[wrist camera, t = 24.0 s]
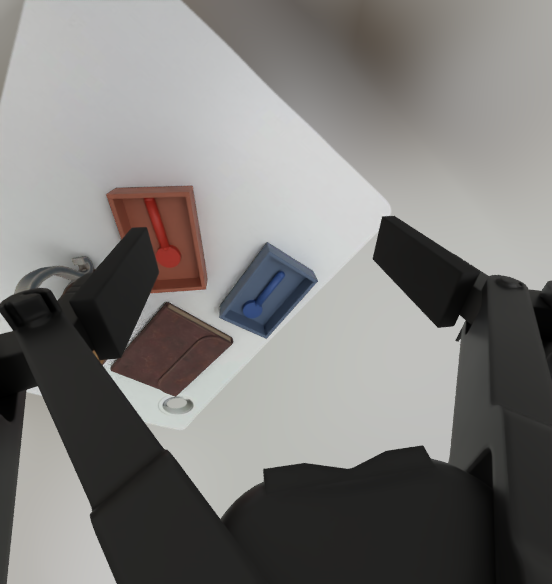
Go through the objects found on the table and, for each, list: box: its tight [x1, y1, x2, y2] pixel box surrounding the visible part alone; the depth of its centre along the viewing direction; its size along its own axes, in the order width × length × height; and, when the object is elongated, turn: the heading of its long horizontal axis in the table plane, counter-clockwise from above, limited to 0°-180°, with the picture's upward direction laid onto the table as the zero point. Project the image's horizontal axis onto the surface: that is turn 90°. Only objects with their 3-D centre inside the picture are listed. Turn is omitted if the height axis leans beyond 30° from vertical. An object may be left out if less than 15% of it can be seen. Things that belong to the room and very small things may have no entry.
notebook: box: [111, 302, 233, 397], centre depth 54 cm, size 15×20×2 cm
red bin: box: [106, 186, 208, 293], centre depth 40 cm, size 15×10×4 cm
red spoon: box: [144, 198, 181, 268], centre depth 40 cm, size 11×4×1 cm, turn 4°
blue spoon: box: [243, 271, 285, 318], centre depth 48 cm, size 11×4×1 cm, turn 144°
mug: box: [14, 256, 107, 365], centre depth 38 cm, size 16×11×15 cm
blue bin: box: [219, 242, 318, 339], centre depth 48 cm, size 15×10×4 cm
